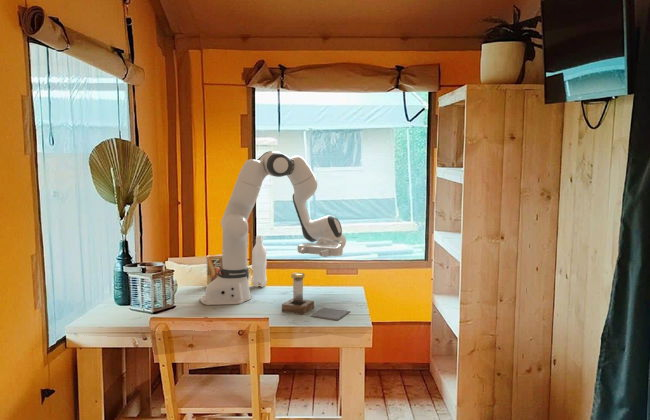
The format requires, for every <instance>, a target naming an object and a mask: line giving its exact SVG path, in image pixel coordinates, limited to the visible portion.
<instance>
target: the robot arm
mask: <svg viewBox="0 0 650 420" xmlns="http://www.w3.org/2000/svg"><path fill="white" fill-rule="evenodd" d="M267 176H272V177H276V178H280V177H281V178H282V177H285V176H286V177H287V178H288V179H289V182H290V183H291V185H292V187H293V194H292V202H293V205H294V209H295V211H296V214H297V215H296V216H297V218H298V220H299V223H300V227H301V232H302V235H303V238H304V239H306V241H308V242H304V243H299V244H297V248H296V249H297V253H299V254H303V255H304V254H308V255H319V256H321V257H323V258H327V257H339V256H343V250H344V248H345V246H346V243H347V239H346V236H345V234H343V230H342V229H343V228H342V225H341V222H340V220H339V219H338V218H337V217H336V216H335V215H332V214H328V215H325V216H322V217H319V218H317V219H313V220H312V219H311V217H310V215H309V213H308V212H309V211H308V208H307V206H306V202H307V201H308V200H309V199H310V198H311V197H312V196H313V195H314V194H315V193H316V191H317V188H318V180H317V178H316V176H315V174H314V172H313V170H312V168H311V166H310V165H309V164H308V163H307V161H306V159H305V158H304V157H303V156H300V155H294V156H291V157H290V156H288V155H287V154H285V153H283V152H280V151H275V150H273V151H272V150H269V151H266V152H264V153H263V154H262V155H260V157H258V158H257V159H254V158H252V159H251V158H250V159H247V160H246V161H245V162H244V164H243V165H242V167H241V169H240V171H239V173H238V175H237V179H236V181H235V184H234V187H233V189H232V192H231V196H230V197H229V200H228V203H227V204H226V208H225V210H224V212H223V216H222V218H221V221H220V225H221V228H222V246H221V247H222V249H221V250H222V254H221V255H222V262H223V267H222V268H221V269H220V268H217V269H216V272H217V273H218V277H217V278H216V279H215V280H213V281H212V282H211V283H209V284H208V285H207V284H206V288H205V291H204V292H205V294H203V295H201V296H200V297H199V298H200V303H202V304H203V305H206V306H211V305H212V306H215V305H216V306H217V305H218V306H219V305H220V306H221V305H240V304H243V303H244V302H246V301H249V300H251V299H252V295H251V294H252V293H251V292H250V291H251V290H250V285H249V277H250V271H249V270H250V269H249V267H248V247H249V246H248V245H249V244H248V243H249V222H248V221H249V218H250V215H251V214H252V211H253V209H254V207H255V205H256V202H257V199H258V196H259V193H260V190H261V187H262V184H263V181H264V180H265V178H266V177H267Z"/></svg>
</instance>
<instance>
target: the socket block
mask: <svg viewBox="0 0 650 420" xmlns="http://www.w3.org/2000/svg"><path fill="white" fill-rule="evenodd" d="M314 308H315V300H311V299H309V300H308V299H303V304H302V305H296V304H293V298H291V299H289V300H287V301H285V302H283V303H281V312H285V313H292V314H299V315H305V314H306V313H308V312H309V311H311V310H314Z"/></svg>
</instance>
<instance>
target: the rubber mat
mask: <svg viewBox="0 0 650 420" xmlns="http://www.w3.org/2000/svg"><path fill="white" fill-rule="evenodd" d="M350 312H351V311H350V310H346V309H339V308H332V307H326V306H324V307H321V308H320V309H318V310H316V311H315V312H313V313H311V314H310V317H312V318H318V319H319V318H320V319H324V320H330V321H337V322H338V321H340V320H341V319H342V318H344V317H345V316H347V315H348V314H349V313H350Z"/></svg>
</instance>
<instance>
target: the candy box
mask: <svg viewBox="0 0 650 420" xmlns="http://www.w3.org/2000/svg"><path fill="white" fill-rule="evenodd" d="M222 267H223V262H222V254H212V255H211V254H209V255H206V286H207V285H208V284H209V283H211V282H212V281H213V280H215V279H216V278H217V277H218V273H217V272H216V269H217V268H220V269H221V268H222Z"/></svg>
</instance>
